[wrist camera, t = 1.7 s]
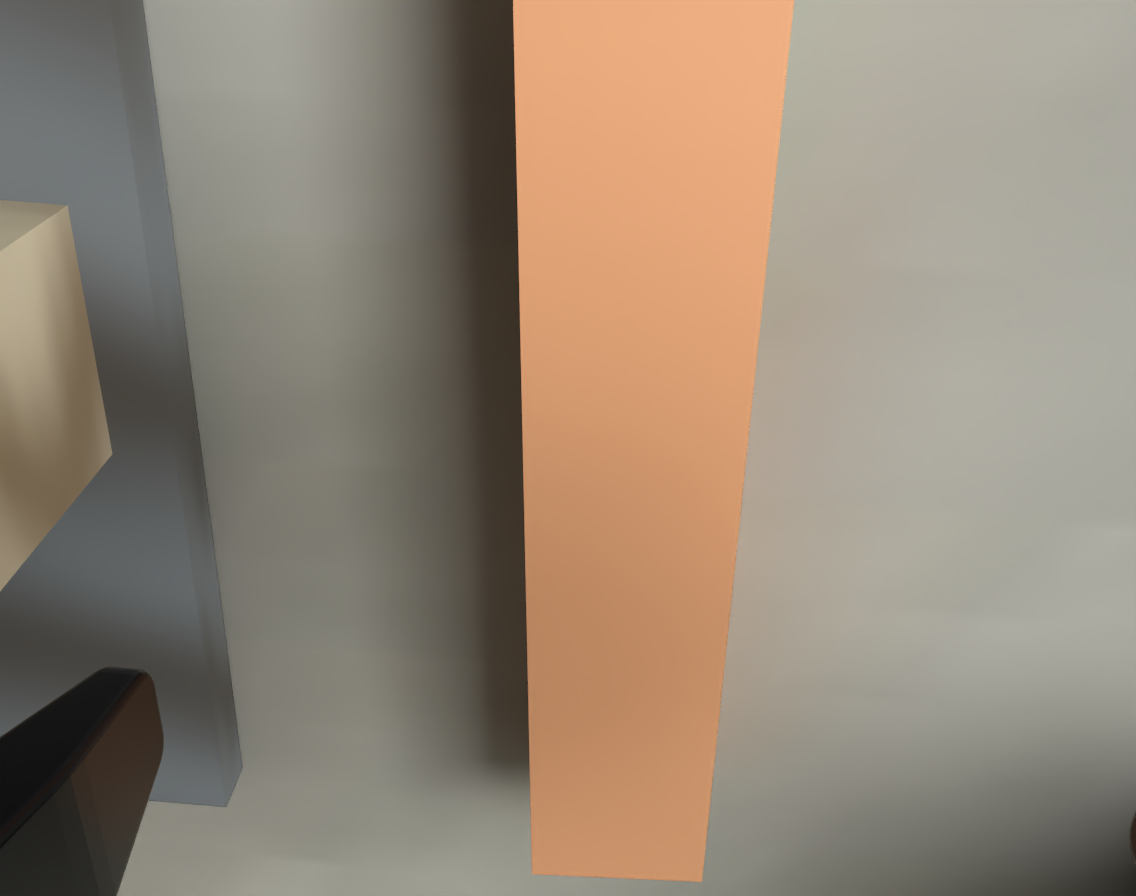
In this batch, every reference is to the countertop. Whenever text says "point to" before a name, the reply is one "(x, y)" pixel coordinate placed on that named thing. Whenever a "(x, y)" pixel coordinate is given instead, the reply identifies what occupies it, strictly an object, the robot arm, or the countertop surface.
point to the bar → (637, 402)
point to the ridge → (101, 397)
